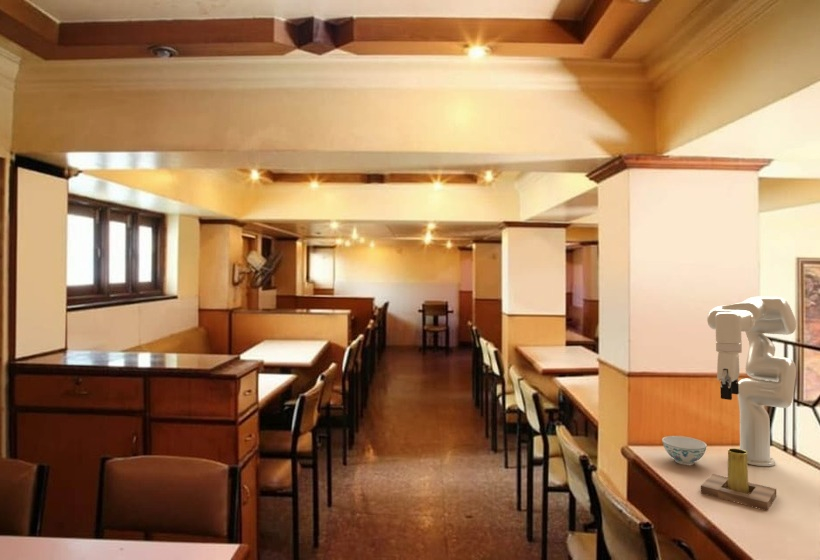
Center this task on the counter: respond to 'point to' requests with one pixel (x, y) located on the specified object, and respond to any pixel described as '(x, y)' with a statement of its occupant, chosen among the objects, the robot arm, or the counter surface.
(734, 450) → the vase
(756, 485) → the vase stand
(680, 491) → the counter surface
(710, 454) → the counter surface
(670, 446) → the chinaware
